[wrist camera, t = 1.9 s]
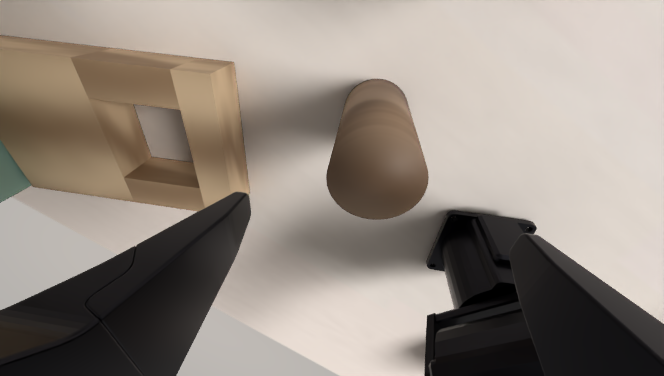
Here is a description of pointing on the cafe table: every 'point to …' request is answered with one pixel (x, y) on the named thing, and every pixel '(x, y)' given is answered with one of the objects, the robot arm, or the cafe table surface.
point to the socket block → (119, 122)
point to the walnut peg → (377, 154)
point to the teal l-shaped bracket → (10, 175)
